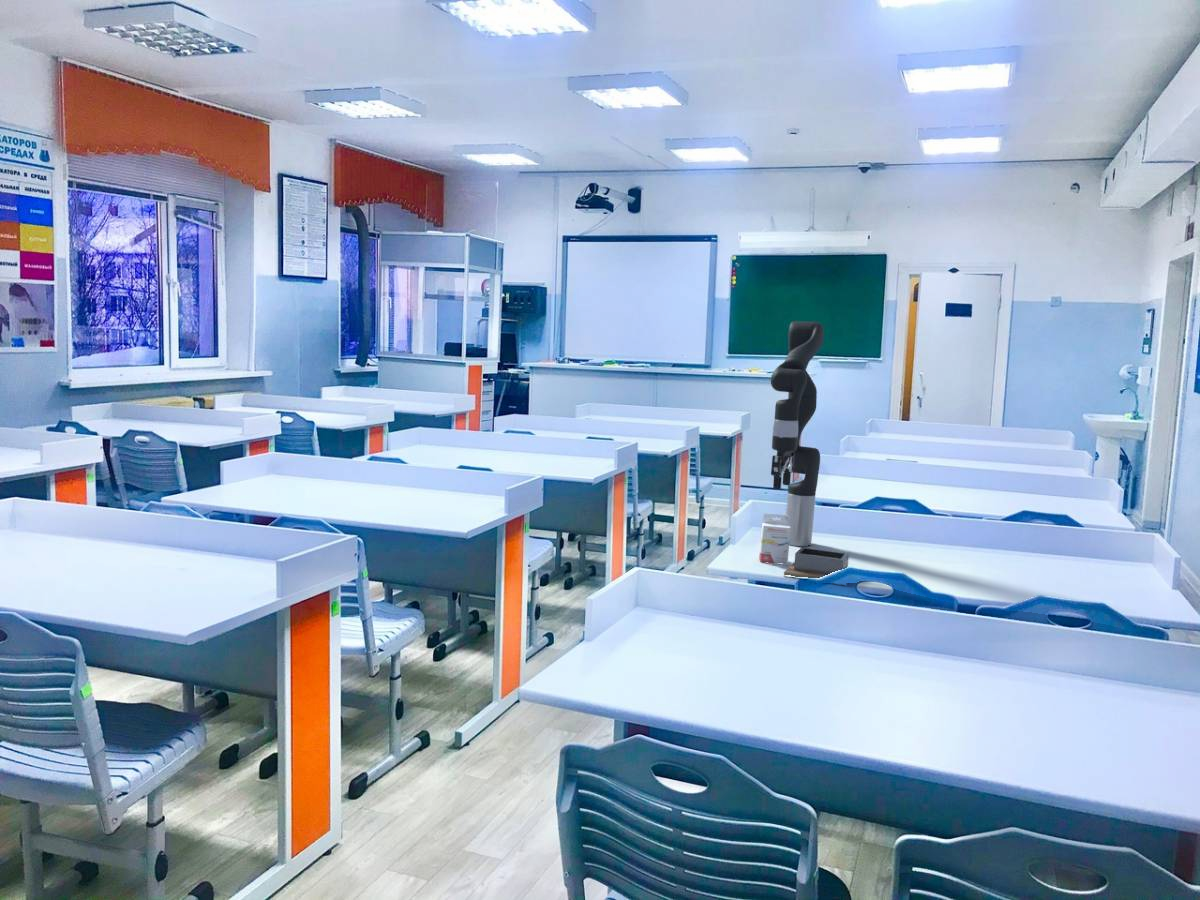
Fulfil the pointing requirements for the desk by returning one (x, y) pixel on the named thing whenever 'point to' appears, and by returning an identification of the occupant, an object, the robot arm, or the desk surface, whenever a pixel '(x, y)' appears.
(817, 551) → the sleeve
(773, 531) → the ink cartridge box
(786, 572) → the base board
